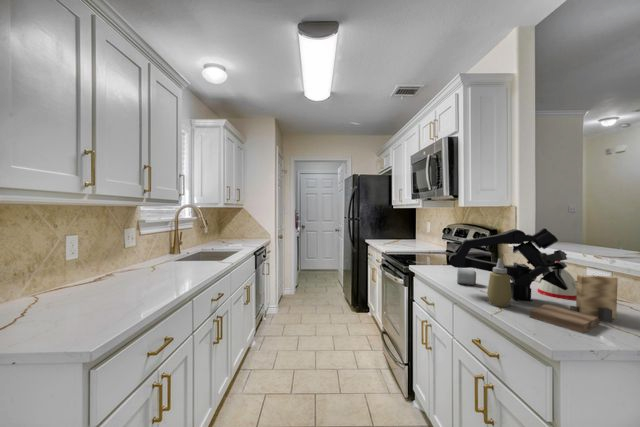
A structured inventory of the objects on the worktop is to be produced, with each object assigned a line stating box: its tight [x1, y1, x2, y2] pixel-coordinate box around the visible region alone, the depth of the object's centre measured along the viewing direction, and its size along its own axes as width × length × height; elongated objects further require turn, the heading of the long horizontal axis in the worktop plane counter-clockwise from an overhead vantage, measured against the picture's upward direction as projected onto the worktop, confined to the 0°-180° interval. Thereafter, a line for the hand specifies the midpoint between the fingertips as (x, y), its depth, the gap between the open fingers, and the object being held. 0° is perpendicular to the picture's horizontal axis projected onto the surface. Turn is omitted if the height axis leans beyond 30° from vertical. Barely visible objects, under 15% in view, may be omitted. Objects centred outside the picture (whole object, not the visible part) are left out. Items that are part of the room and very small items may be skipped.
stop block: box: [599, 307, 613, 323], centre depth 95 cm, size 2×2×4 cm
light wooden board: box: [569, 274, 619, 319], centre depth 97 cm, size 13×2×14 cm, turn 83°
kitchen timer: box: [537, 261, 577, 300], centre depth 123 cm, size 14×14×15 cm
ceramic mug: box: [456, 268, 477, 286], centre depth 140 cm, size 11×8×8 cm
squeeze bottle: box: [486, 258, 512, 308], centre depth 109 cm, size 8×8×18 cm
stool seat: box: [529, 303, 600, 334], centre depth 94 cm, size 13×14×2 cm
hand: (566, 289), depth 104 cm, fingers closed
